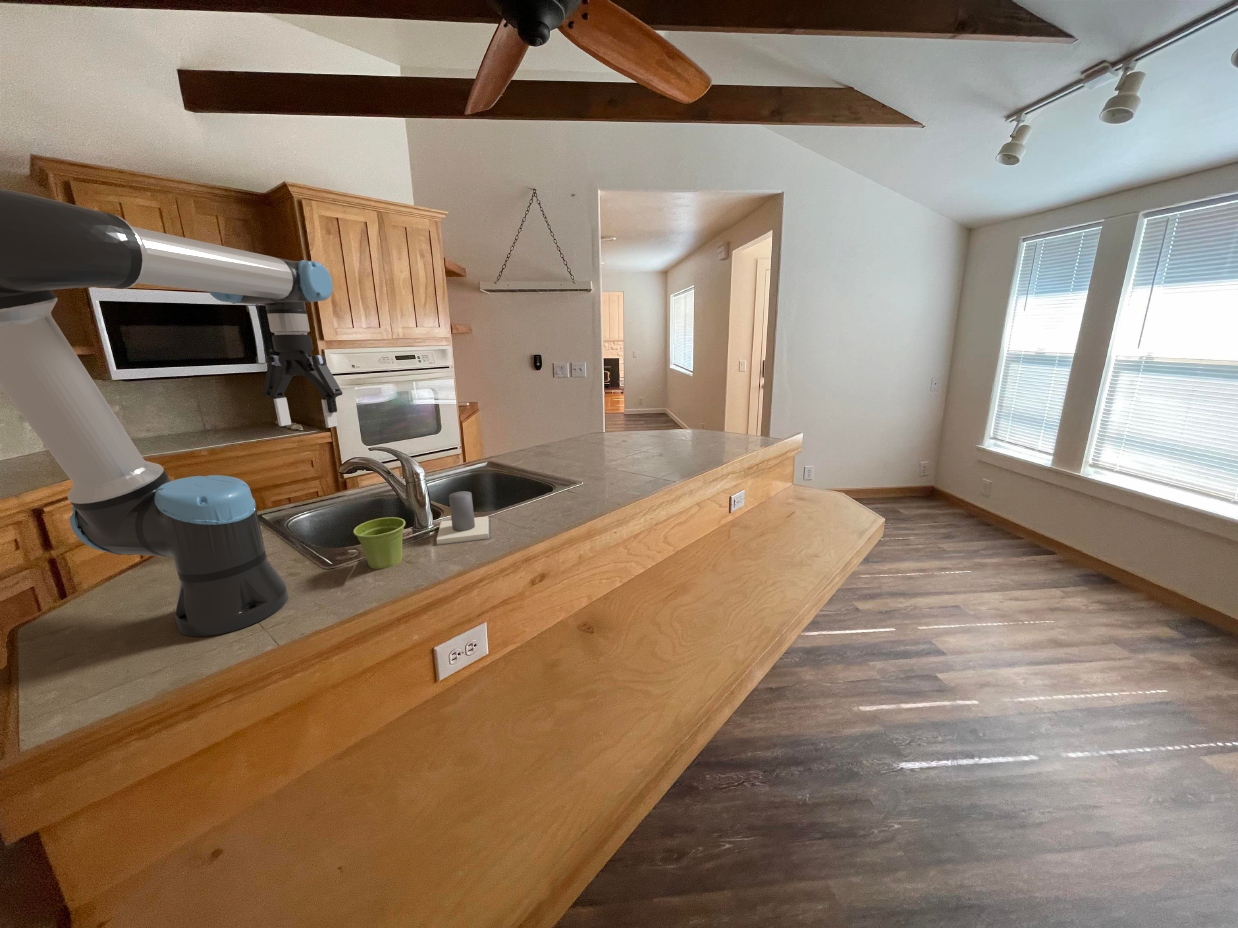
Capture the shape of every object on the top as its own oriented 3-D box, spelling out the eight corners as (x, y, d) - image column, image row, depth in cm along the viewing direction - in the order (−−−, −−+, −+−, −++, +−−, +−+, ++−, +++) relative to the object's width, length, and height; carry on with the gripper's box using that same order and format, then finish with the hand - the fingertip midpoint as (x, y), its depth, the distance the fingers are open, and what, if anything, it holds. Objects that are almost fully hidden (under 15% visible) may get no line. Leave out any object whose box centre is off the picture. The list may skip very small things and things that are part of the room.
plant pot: (410, 570, 96) (404, 530, 94) (358, 580, 93) (350, 538, 91) (411, 551, 105) (405, 514, 102) (363, 559, 101) (356, 521, 99)
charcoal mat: (491, 542, 109) (490, 538, 108) (435, 549, 106) (434, 545, 106) (491, 522, 120) (490, 519, 120) (440, 528, 117) (439, 525, 117)
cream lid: (488, 538, 109) (484, 500, 106) (437, 544, 106) (432, 505, 104) (488, 520, 119) (485, 485, 117) (441, 525, 116) (437, 489, 114)
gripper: (349, 332, 110) (364, 424, 115) (262, 335, 116) (280, 422, 121) (323, 332, 103) (339, 430, 108) (231, 335, 109) (251, 427, 114)
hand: (308, 426), depth 115 cm, fingers open, 13 cm apart
